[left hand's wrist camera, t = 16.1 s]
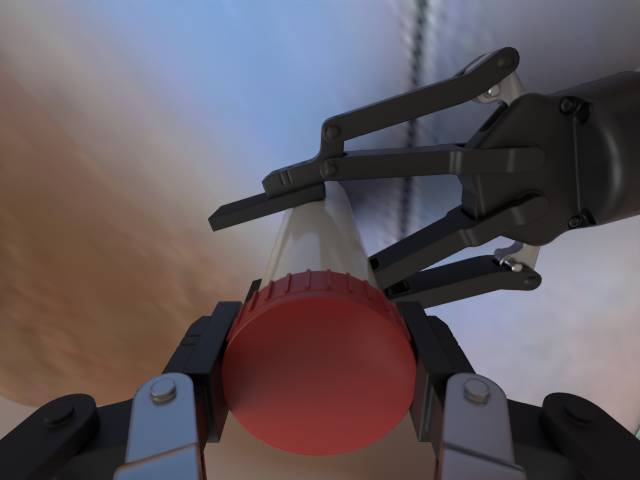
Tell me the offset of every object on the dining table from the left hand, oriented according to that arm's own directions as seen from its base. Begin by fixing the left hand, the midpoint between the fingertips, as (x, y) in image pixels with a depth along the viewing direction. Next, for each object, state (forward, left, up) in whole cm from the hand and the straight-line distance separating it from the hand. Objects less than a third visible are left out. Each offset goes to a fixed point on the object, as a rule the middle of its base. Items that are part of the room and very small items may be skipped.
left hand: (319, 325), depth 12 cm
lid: (0, 0, +2) cm, 2 cm away
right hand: (+3, -4, -9) cm, 11 cm away
